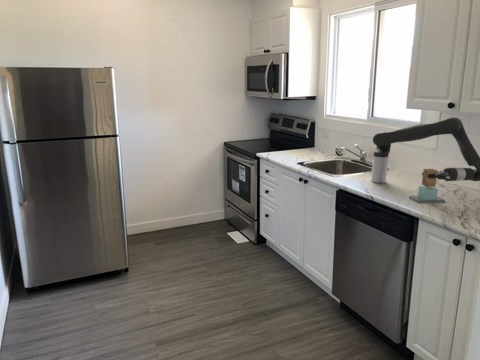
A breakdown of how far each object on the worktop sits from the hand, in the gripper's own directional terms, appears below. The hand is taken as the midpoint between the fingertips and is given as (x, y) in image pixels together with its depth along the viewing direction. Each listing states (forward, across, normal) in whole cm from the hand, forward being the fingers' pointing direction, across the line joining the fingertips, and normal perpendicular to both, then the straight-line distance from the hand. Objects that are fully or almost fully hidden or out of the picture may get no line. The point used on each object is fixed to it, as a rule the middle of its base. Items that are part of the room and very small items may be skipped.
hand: (425, 175), depth 216 cm
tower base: (-3, 0, +15) cm, 15 cm away
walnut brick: (-3, 0, +6) cm, 7 cm away
